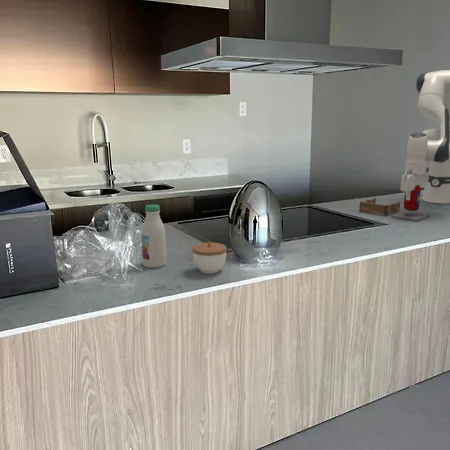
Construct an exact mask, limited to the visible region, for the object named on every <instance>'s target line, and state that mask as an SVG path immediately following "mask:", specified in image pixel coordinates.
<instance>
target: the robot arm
mask: <svg viewBox="0 0 450 450" xmlns="http://www.w3.org/2000/svg"><path fill="white" fill-rule="evenodd" d="M415 88H416V90H417V91H416V92H418V94H419V96H418V100H417V109H418V111H419V113H420V114H421V115H422V116H423V117H425V118H427V119H429V120H433V122H435V123H437V124H439V127H440V128H430V129H426V130H423V131H422V132H417V133H416V132H414V133H412V134H410V135H409V138H408V140H407V145H406V152H405V153H406V154H405V155H406V160H405V163H404V165H405V166H404V174H403V175H402V177H401V181H400V191H401V192H404V195H405V194H406V200H411V196H410V193H411V191H412V190H414V189H415V186H416V185H420V187H421V189H422V188H424V189H423V194H422V195H423V196H420V200H421V201H423V202H427V203H431V204H432V203H433V204H450V69H447V70H446V69H444V70H443V69H441V70H436V71H431V72H424V73H420V74H419V76H417V78H416V83H415ZM427 162H429V167H428V165H427ZM428 174H429V175H428Z"/></svg>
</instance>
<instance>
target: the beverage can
mask: <svg viewBox="0 0 450 450" xmlns="http://www.w3.org/2000/svg"><path fill="white" fill-rule="evenodd" d="M421 191H422V188H421V187H420V185H416V186H415V189H414V190H412V191H411V193H410V196H411V200H406V194H405V193H404V198H403V209H405V211H411V212H417V210H420V202H421V199H420V198H421Z"/></svg>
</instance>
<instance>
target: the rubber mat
mask: <svg viewBox="0 0 450 450" xmlns="http://www.w3.org/2000/svg"><path fill="white" fill-rule="evenodd" d="M390 217H391V219H398V220H403V221H409V222H416V223H417V222H420V221H422V220H425V219H427V218H429V217H431V214H429V213H423V212H417V211H409V210H403V211H401V212H400V211H399V212H397V213H394V214H391V215H390Z"/></svg>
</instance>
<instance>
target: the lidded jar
mask: <svg viewBox="0 0 450 450" xmlns="http://www.w3.org/2000/svg"><path fill="white" fill-rule="evenodd" d="M191 250H192V258H193V262H194V265H195V267H196V268H197V269H198V270H199V271H200V272H201V273H203V274H205V275H207V274H209V275H210V274H217V273H218V272H220V270H222V268H223V267H224V266H225V263H226V260H227V259H226V258H227V246H226V245H225V244H224V243H223V244H222V243H219V242H211V241H207V242H201V243H197V244H195V245H193V246H192V249H191Z"/></svg>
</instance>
